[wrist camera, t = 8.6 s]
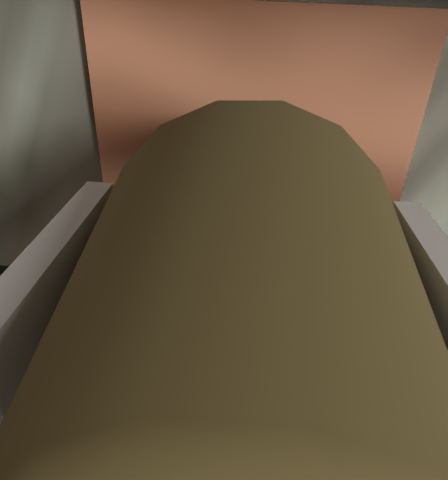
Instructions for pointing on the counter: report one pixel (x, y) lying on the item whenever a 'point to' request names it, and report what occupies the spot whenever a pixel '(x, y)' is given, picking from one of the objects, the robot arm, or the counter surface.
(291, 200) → the squeeze bottle
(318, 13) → the rail
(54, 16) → the counter surface
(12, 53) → the counter surface
